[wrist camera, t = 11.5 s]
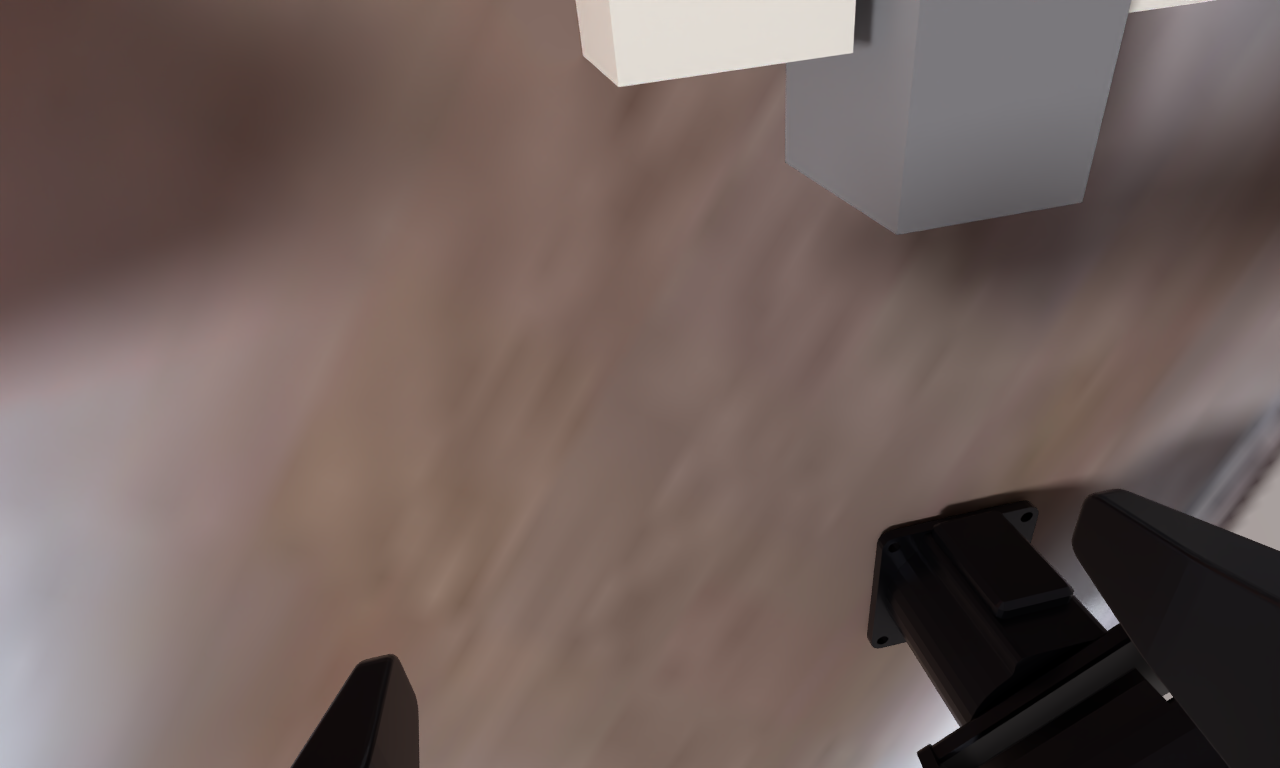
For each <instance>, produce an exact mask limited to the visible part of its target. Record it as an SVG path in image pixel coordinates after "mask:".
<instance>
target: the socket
mask: <svg viewBox="0 0 1280 768" xmlns="http://www.w3.org/2000/svg"><path fill="white" fill-rule="evenodd" d="M1208 1H1214V0H1131V4H1130V8H1129V13H1132V12H1139V11H1146V10H1152V9H1159V8H1166V7H1173V6H1180V5H1187V4H1194V3H1201V2H1208ZM855 6H856V0H576V7H577V14H578V22H579V29H580V37H581V44H582V51H583V56H584V57H585V58H586V59H588V60H589V61H590V62H591V63H592V64H593V65H594V66H595V67H597V68H598V69H599V70H600V71H601V72H602V73H603V74H604V75H606V76H607V77H608V78H609V79H610V80H611V81H612V82H614V83H615V84H616V85H617V86H618V87H622V86H629V85H636V84H643V83H650V82H657V81H663V80H670V79H677V78H684V77H691V76H698V75H705V74H712V73H719V72H725V71H732V70H739V69H746V68H753V67H760V66H767V65H774V64H780V63H787V62H794V61H801V60H808V59H815V58H822V57H829V56H836V55H842V54H849V53H853V43H854V25H855Z"/></svg>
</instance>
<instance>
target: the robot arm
mask: <svg viewBox="0 0 1280 768" xmlns="http://www.w3.org/2000/svg"><path fill="white" fill-rule="evenodd" d="M1037 518H1038V510H1037V508H1036V507H1035V506H1034V505H1033V504H1032V503H1031V502H1029V501H1019V502H1015V503H1011V504H1006V505H1002V506H997V507H993V508H989V509H984V510H980V511H975V512H971V513H966V514H962V515H958V516H953V517H949V518H944V519H940V520H936V521H931V522H927V523H922V524H918V525H913V526H909V527H905V528H900V529H896V530H891V531H888V532H886V533H884V534H883V535H881V537H880V538H879V539H878V542H877V550H876V559H875V568H874V577H873V586H872V595H871V604H870V613H869V623H868V632H867V638H868V640H869V641H870V643H871V645H872V646H873V647H874V648H883V647H887V646H891V645H896V644H900V643H904V642H907V643H908V645H909V647H910V648H911V650H912V651H913V653H914V655H915V656H916V658H917V659H918V661H919V663H920V664H921V666H922V667H923V669H924V670H925V672H926V674H927V675H928V677H929V678H930V680H931V682H932V683H933V685H934V686H935V688H936V690H937V691H938V693H939V694H940V696H941V698H942V699H943V701H944V702H945V704H946V705H947V707H948V709H949V710H950V712H951V713H952V715H953V717H954V718H955V720H956V721H957V723H958V725H959V726H960V728H959V729H957V730H955V731H954V732H952V733H951V734H949V735H948V736H946V737H945V738H943V739H942V740H940V741H939V742H937V743H936V744H934V745H933V746H932V745H931V744H929V745H927V746H925V747H924V748H922V749H921V750H919V751H918V752H917V755H918V757H919V760H920V762H921V764H922V767H923V768H1280V551H1278V550H1275V549H1273V548H1270V547H1268V546H1265V545H1263V544H1260V543H1258V542H1255V541H1253V540H1250V539H1248V538H1245V537H1243V536H1240V535H1237V534H1235V533H1232V532H1230V531H1227V530H1225V529H1222V528H1220V527H1217V526H1215V525H1212V524H1210V523H1207V522H1205V521H1202V520H1200V519H1197V518H1195V517H1192V516H1189V515H1187V514H1184V513H1182V512H1179V511H1177V510H1174V509H1172V508H1169V507H1167V506H1164V505H1162V504H1159V503H1157V502H1154V501H1151V500H1149V499H1146V498H1144V497H1141V496H1139V495H1136V494H1134V493H1131V492H1129V491H1126V490H1122V489H1111V490H1106V491H1102V492H1098V493H1093V494H1091V495H1089V496H1088V497H1086V498H1085V500H1084V502H1083V505H1082V508H1081V511H1080V514H1079V517H1078V520H1077V524H1076V527H1075V530H1074V533H1073V537H1072V546H1073V550H1074V552H1075V555H1076V557H1077V558H1078V560H1079V562H1080V563H1081V565H1082V566H1083V568H1084V569H1085V571H1086V572H1087V574H1088V575H1089V577H1090V578H1091V580H1092V581H1093V583H1094V584H1095V586H1096V588H1097V589H1098V591H1099V592H1100V594H1101V595H1102V597H1103V598H1104V600H1105V601H1106V603H1107V604H1108V606H1109V607H1110V609H1111V610H1112V612H1113V613H1114V615H1115V617H1116V618H1117V620H1118V621H1119V624H1118V625H1116V626H1114V627H1113V628H1111V629H1110V630H1108V631H1107V630H1106V629H1105V628H1104V627H1103V626H1102V625H1101V624H1100V623H1099V621H1098V620H1097V619H1096V618H1095V617H1094V616H1093V615H1092V614H1091V613H1090V612H1089V611H1088V610H1087V609H1086V608H1085V607H1084V606H1083V604H1082V603H1081V602H1080V601H1079V600H1078V599H1077V598H1076V597H1075V596H1074V595H1073V592H1074V590H1073V588H1072V587H1071V586H1070V585H1069V584H1068V583H1067V582H1066V580H1065V579H1064V578H1063V577H1062V576H1061V575H1060V574H1059V573H1058V572H1057V571H1056V570H1055V569H1054V568H1053V567H1052V566H1051V565H1050V564H1049V563H1048V562H1047V560H1046V559H1045V558H1044V557H1043V556H1042V555H1041V554H1040V553H1039V552H1038V551H1037V550H1036V549H1035V548H1034V547H1033V546H1032V545H1031V544H1030V543H1031V540H1032V536H1033V532H1034V529H1035V525H1036V521H1037ZM1168 692H1170V693H1171V695H1172V696H1173V698H1171V699H1169V700H1168V701H1166V700H1165V699H1164V698H1163V697H1162V696H1163V695H1165V694H1167V693H1168ZM291 768H419V717H418V705H417V699H416V696H415V693H414V691H413V688H412V686H411V684H410V682H409V680H408V678H407V675H406V673H405V671H404V669H403V667H402V665H401V662H400V660H399V659H398V657H397V656H395V655H393V654H388V655H383V656H379V657H374V658H370V659H366V660H363V661H361V662H360V663H359V664H358V665H357V666H356V667H355V668H354V669H353V671H352V673H351V674H350V676H349V677H348V679H347V680H346V682H345V683H344V685H343V687H342V688H341V690H340V691H339V693H338V694H337V696H336V697H335V699H334V701H333V702H332V704H331V705H330V707H329V708H328V710H327V712H326V713H325V715H324V716H323V718H322V719H321V721H320V722H319V724H318V726H317V727H316V729H315V730H314V732H313V733H312V735H311V736H310V738H309V740H308V741H307V743H306V744H305V746H304V747H303V749H302V750H301V752H300V754H299V755H298V757H297V758H296V760H295V761H294V763H293V764H292V766H291Z"/></svg>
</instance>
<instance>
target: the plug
mask: <svg viewBox="0 0 1280 768" xmlns="http://www.w3.org/2000/svg"><path fill="white" fill-rule="evenodd" d="M1130 4H1131V0H856V6H855V25H854V43H853V53H849V54H842V55H836V56H829V57H822V58H815V59H808V60H801V61H794V62H787V63H786V125H785V163H787V164H789V165H790V166H792V167H793V168H795V169H796V170H798V171H799V172H801V173H802V174H804V175H805V176H807V177H808V178H810V179H812V180H813V181H815V182H816V183H818V184H819V185H821V186H822V187H824V188H825V189H827V190H828V191H830V192H831V193H833V194H835V195H836V196H838V197H839V198H841V199H842V200H844V201H845V202H847V203H848V204H850V205H851V206H853V207H855V208H856V209H858V210H859V211H861V212H862V213H864V214H865V215H867V216H868V217H870V218H871V219H873V220H874V221H876V222H878V223H879V224H881V225H882V226H884V227H885V228H887V229H888V230H890V231H891V232H893V233H894V234H896V235H899V234H905V233H911V232H916V231H922V230H928V229H934V228H939V227H945V226H951V225H956V224H962V223H968V222H973V221H979V220H985V219H991V218H996V217H1002V216H1008V215H1013V214H1019V213H1025V212H1031V211H1036V210H1042V209H1048V208H1053V207H1059V206H1065V205H1071V204H1076V203H1082V201H1083V197H1084V193H1085V189H1086V185H1087V181H1088V177H1089V173H1090V168H1091V164H1092V160H1093V156H1094V152H1095V148H1096V144H1097V140H1098V136H1099V131H1100V127H1101V123H1102V119H1103V115H1104V111H1105V107H1106V103H1107V99H1108V95H1109V90H1110V86H1111V82H1112V78H1113V74H1114V70H1115V66H1116V62H1117V58H1118V54H1119V49H1120V45H1121V41H1122V37H1123V33H1124V29H1125V25H1126V21H1127V17H1128V13H1129V8H1130Z"/></svg>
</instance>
